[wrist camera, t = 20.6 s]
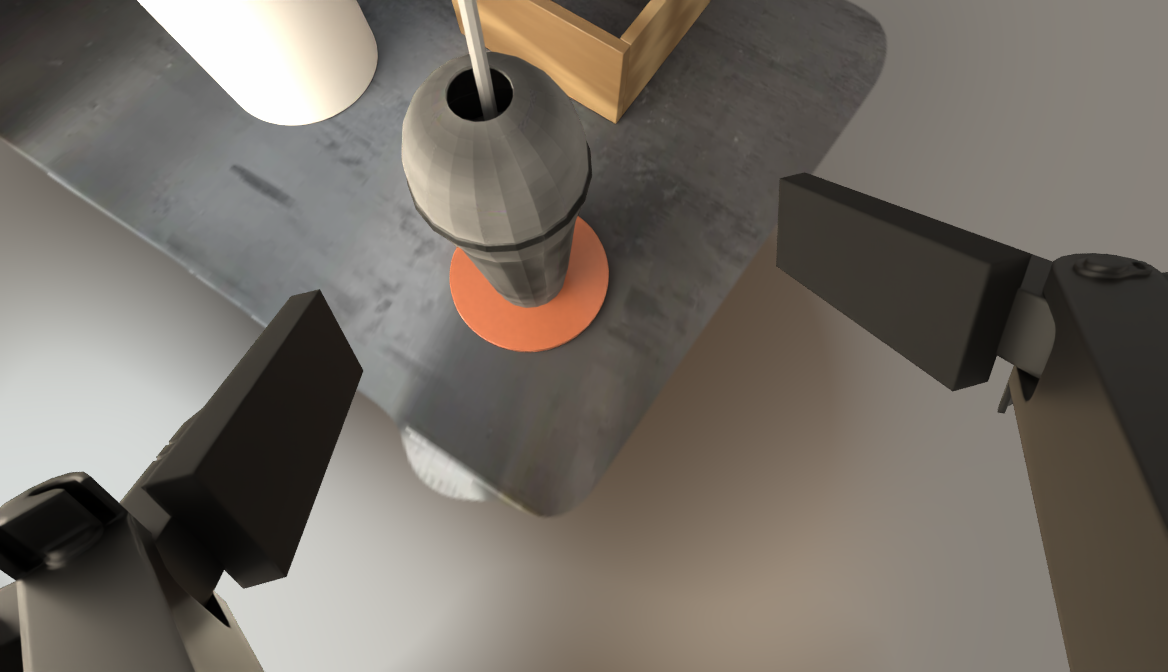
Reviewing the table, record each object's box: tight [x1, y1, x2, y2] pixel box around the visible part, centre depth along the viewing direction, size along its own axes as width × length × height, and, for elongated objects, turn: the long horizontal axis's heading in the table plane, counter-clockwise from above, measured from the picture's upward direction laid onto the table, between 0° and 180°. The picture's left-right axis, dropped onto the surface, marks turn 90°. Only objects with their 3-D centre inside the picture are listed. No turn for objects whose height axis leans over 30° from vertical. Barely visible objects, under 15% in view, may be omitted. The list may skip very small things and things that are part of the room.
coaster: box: [450, 216, 609, 352], centre depth 30 cm, size 10×10×1 cm
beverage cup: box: [402, 0, 592, 308], centre depth 20 cm, size 7×7×20 cm
